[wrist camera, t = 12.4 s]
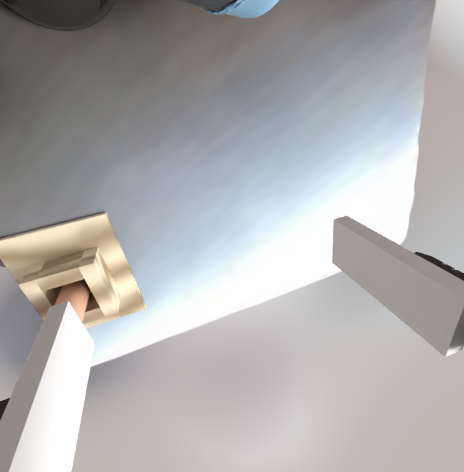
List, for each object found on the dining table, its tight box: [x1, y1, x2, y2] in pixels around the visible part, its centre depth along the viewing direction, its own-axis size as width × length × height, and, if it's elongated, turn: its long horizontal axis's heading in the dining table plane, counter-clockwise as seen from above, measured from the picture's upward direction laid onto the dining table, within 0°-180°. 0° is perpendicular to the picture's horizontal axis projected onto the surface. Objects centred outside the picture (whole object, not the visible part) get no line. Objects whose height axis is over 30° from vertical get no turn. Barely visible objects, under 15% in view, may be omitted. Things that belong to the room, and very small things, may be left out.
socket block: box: [0, 212, 146, 328], centre depth 43 cm, size 20×16×6 cm
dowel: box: [55, 279, 90, 322], centre depth 38 cm, size 4×4×16 cm
